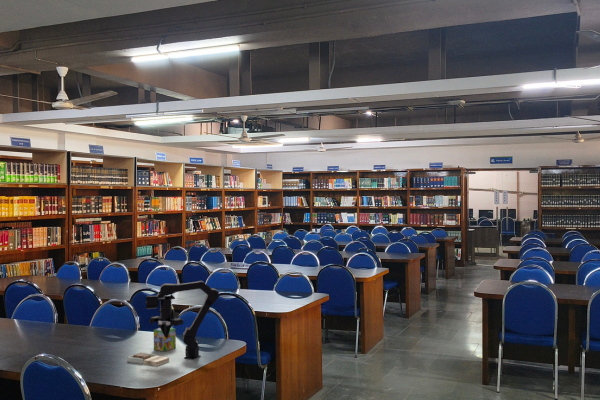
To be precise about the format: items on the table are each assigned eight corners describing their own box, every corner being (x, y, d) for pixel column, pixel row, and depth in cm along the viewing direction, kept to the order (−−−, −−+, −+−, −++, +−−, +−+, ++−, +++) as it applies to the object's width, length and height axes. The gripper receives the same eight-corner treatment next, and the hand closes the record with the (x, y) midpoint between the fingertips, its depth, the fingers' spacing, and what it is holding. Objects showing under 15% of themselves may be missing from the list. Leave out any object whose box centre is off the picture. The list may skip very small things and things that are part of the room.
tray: (155, 359, 279) (155, 354, 279) (142, 364, 270) (142, 359, 270) (140, 356, 284) (140, 352, 284) (127, 361, 275) (127, 357, 275)
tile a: (150, 359, 277) (150, 354, 277) (144, 361, 273) (144, 356, 273) (144, 358, 278) (144, 353, 278) (139, 360, 275) (139, 355, 275)
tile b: (144, 358, 279) (144, 353, 279) (139, 360, 275) (139, 355, 275) (138, 357, 280) (138, 353, 280) (133, 359, 277) (133, 355, 277)
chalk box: (164, 352, 293) (164, 325, 293) (153, 350, 298) (152, 323, 298) (176, 348, 301) (176, 322, 301) (164, 346, 306) (164, 320, 306)
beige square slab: (169, 361, 274) (169, 357, 274) (157, 366, 266) (157, 362, 266) (155, 359, 278) (155, 355, 278) (143, 364, 270) (143, 360, 270)
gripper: (189, 306, 280) (190, 335, 280) (162, 304, 289) (163, 332, 288) (176, 310, 270) (176, 340, 270) (148, 307, 279) (148, 336, 279)
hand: (166, 337), depth 277 cm, fingers closed
